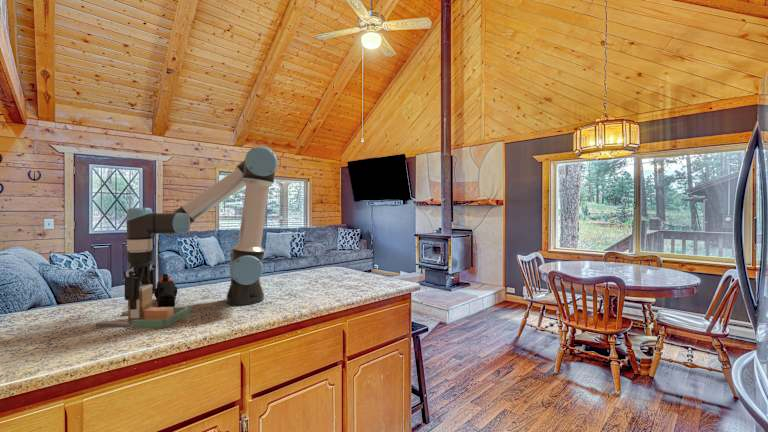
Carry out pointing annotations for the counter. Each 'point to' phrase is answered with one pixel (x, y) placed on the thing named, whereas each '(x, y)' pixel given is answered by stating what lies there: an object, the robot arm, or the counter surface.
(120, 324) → the slot rails
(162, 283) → the tool
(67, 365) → the counter surface
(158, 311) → the orange cube piece
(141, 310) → the light brown tall block
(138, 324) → the green u-shaped frame
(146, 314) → the orange cubic piece
